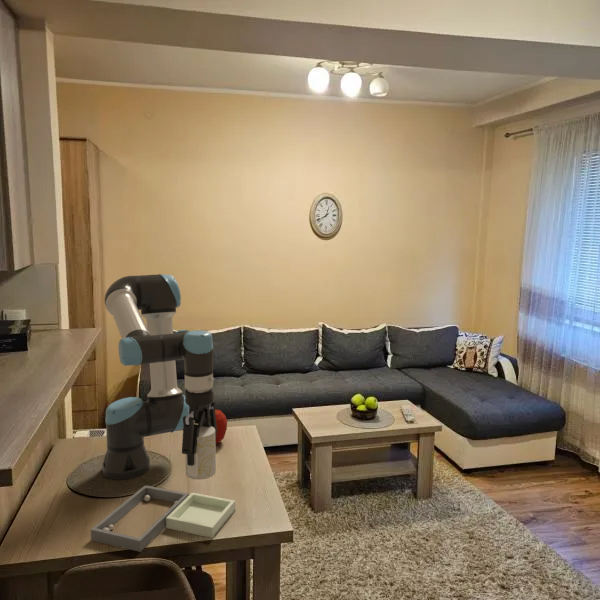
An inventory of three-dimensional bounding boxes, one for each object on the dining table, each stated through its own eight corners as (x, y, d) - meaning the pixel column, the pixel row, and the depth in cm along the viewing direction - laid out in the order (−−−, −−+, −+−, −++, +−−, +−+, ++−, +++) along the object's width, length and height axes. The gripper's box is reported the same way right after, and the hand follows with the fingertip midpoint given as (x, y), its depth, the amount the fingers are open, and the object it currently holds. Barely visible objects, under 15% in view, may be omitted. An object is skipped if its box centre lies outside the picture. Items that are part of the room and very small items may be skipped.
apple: (226, 448, 190) (226, 412, 188) (198, 449, 189) (198, 412, 187) (228, 436, 200) (227, 402, 198) (201, 437, 199) (201, 402, 197)
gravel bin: (91, 540, 135) (90, 529, 135) (145, 494, 158) (145, 485, 157) (140, 551, 131) (140, 541, 130) (189, 503, 153) (188, 493, 153)
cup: (189, 481, 138) (188, 439, 136) (183, 468, 145) (182, 427, 143) (219, 476, 141) (218, 434, 139) (211, 463, 148) (211, 423, 146)
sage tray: (166, 528, 141) (166, 517, 140) (192, 501, 154) (192, 492, 153) (212, 538, 136) (212, 527, 136) (235, 510, 150) (235, 500, 149)
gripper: (192, 402, 128) (194, 488, 132) (228, 378, 148) (229, 453, 152) (165, 399, 131) (168, 483, 134) (205, 376, 150) (206, 450, 154)
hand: (200, 467), depth 143 cm, fingers closed on cup, 8 cm apart
